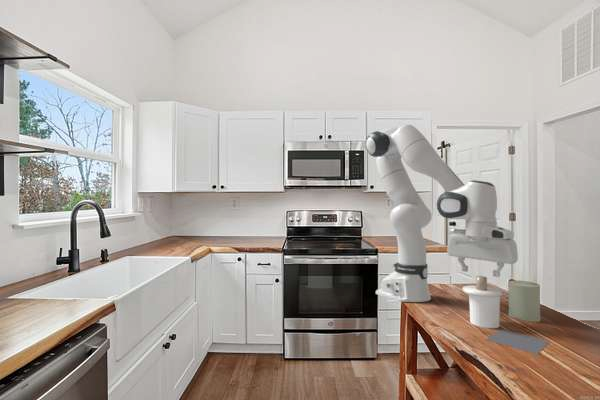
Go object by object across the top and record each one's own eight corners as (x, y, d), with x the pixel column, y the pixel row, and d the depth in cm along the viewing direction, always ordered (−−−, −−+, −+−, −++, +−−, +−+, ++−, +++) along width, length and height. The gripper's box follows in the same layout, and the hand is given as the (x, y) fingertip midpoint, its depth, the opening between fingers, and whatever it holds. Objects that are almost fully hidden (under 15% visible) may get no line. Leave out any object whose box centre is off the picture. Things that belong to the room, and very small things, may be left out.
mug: (507, 329, 101) (507, 296, 101) (483, 332, 99) (482, 298, 99) (481, 318, 112) (480, 287, 112) (458, 320, 110) (457, 289, 110)
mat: (486, 342, 92) (486, 339, 92) (500, 331, 100) (500, 328, 100) (537, 357, 83) (537, 354, 83) (549, 343, 91) (549, 340, 91)
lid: (457, 292, 106) (456, 276, 106) (470, 286, 113) (470, 272, 114) (495, 299, 98) (494, 282, 98) (506, 292, 105) (506, 277, 105)
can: (546, 323, 107) (546, 285, 107) (515, 321, 109) (514, 284, 109) (532, 313, 116) (532, 279, 116) (503, 312, 118) (503, 278, 118)
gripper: (444, 228, 112) (443, 269, 112) (513, 234, 97) (512, 281, 97) (452, 227, 116) (451, 267, 116) (519, 232, 101) (519, 278, 101)
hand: (480, 273), depth 106 cm, fingers open, 8 cm apart
